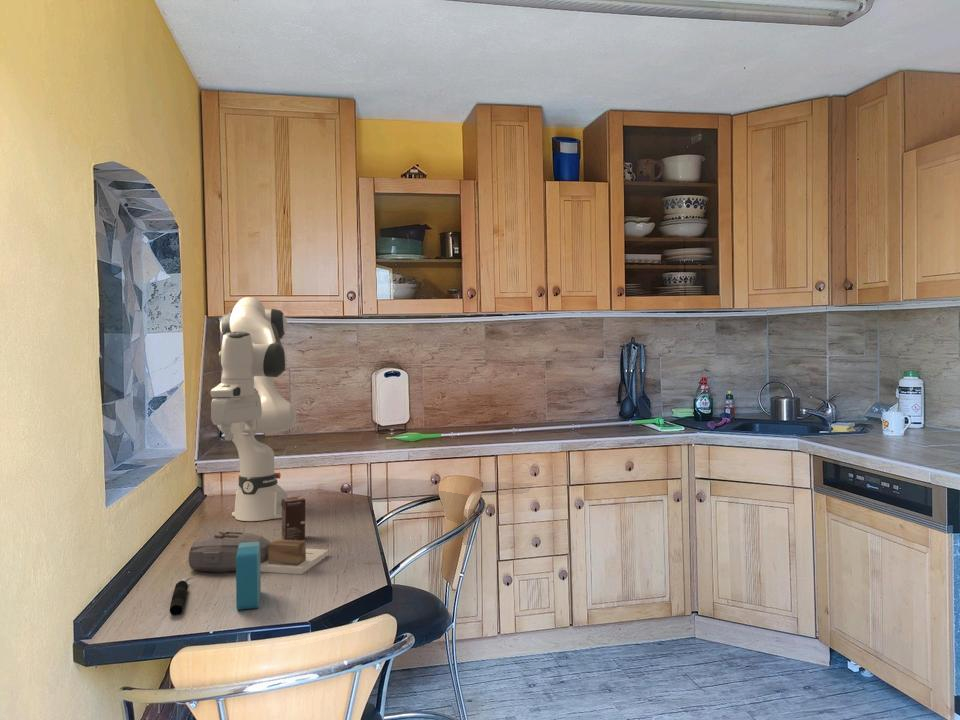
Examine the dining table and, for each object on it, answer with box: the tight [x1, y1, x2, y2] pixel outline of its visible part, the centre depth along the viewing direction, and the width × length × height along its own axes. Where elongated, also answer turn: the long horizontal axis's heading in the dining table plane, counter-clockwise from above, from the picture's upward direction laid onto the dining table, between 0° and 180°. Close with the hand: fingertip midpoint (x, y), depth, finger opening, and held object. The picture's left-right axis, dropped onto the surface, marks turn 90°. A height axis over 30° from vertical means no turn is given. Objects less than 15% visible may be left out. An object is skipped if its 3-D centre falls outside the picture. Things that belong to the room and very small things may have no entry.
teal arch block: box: [235, 542, 262, 611], centre depth 150 cm, size 12×4×12 cm, turn 16°
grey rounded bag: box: [188, 531, 271, 573], centre depth 176 cm, size 15×8×20 cm
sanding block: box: [268, 538, 307, 566], centre depth 173 cm, size 4×8×5 cm, turn 78°
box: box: [281, 496, 306, 541], centre depth 200 cm, size 6×4×12 cm
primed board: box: [260, 548, 330, 575], centre depth 177 cm, size 16×12×2 cm
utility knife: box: [169, 577, 196, 616], centre depth 152 cm, size 22×4×3 cm, turn 20°
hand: (238, 438), depth 191 cm, fingers open, 8 cm apart
